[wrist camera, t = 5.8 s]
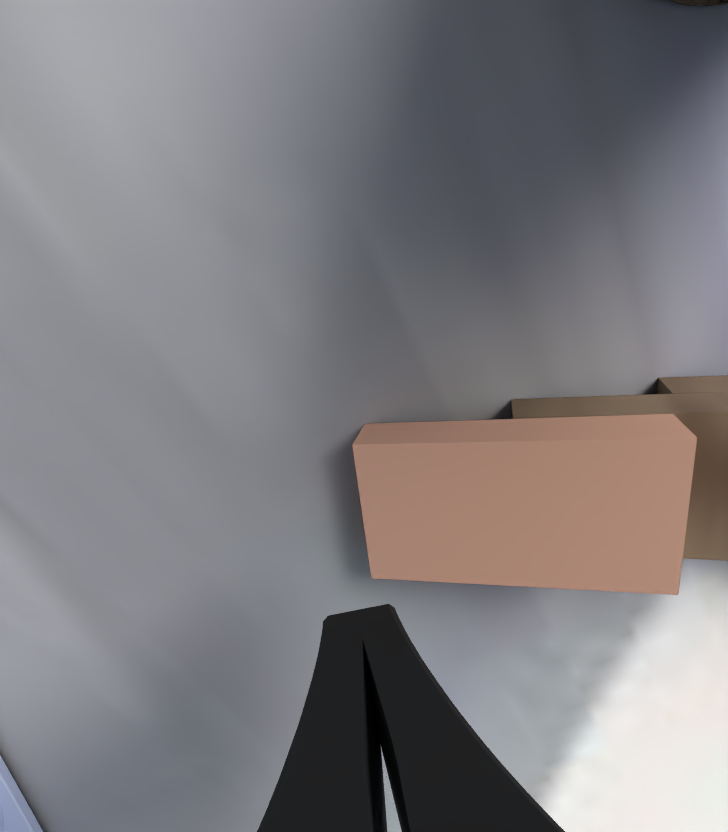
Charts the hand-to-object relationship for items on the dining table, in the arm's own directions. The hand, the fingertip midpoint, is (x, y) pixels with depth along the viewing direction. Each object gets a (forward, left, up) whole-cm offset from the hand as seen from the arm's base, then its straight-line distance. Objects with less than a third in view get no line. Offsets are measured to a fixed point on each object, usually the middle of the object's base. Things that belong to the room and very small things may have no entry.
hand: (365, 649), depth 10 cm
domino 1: (0, -1, -6) cm, 6 cm away
